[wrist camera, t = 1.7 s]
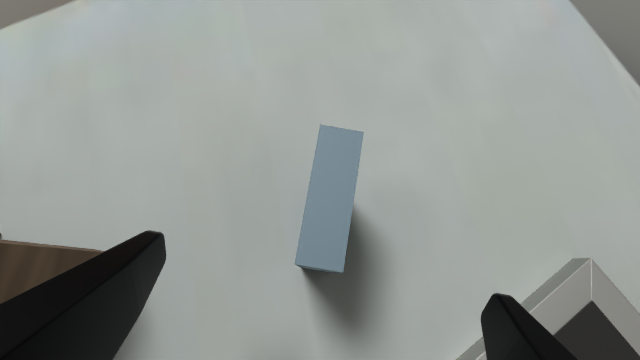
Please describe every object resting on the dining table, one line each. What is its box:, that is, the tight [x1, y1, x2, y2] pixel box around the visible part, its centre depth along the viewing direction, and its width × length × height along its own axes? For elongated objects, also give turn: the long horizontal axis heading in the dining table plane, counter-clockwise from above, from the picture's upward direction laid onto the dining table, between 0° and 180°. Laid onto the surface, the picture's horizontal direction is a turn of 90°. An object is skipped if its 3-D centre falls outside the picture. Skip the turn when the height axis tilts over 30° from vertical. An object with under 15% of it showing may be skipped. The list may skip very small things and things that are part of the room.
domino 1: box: [0, 240, 105, 304], centre depth 15 cm, size 2×5×9 cm, turn 170°
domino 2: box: [295, 125, 364, 273], centre depth 16 cm, size 2×5×9 cm, turn 170°
